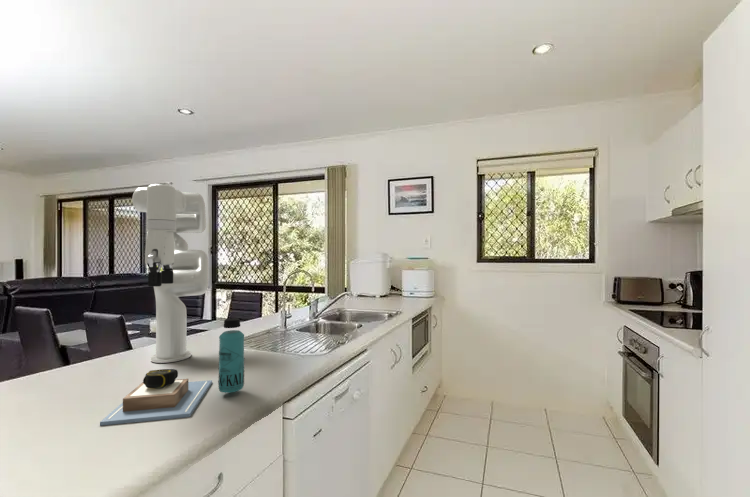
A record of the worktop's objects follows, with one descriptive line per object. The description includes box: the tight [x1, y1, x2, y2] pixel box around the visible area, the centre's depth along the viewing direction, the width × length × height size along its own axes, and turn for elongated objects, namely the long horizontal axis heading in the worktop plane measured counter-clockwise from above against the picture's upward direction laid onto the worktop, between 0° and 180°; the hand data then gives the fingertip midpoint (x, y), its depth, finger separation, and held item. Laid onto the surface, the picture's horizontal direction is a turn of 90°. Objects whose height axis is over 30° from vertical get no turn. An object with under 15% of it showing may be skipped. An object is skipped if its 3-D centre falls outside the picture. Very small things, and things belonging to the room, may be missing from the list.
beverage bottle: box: [217, 317, 246, 394], centre depth 95 cm, size 6×7×20 cm
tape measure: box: [142, 368, 179, 389], centre depth 90 cm, size 7×7×4 cm
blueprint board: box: [99, 378, 213, 427], centre depth 90 cm, size 22×18×4 cm
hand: (161, 284), depth 105 cm, fingers open, 9 cm apart
